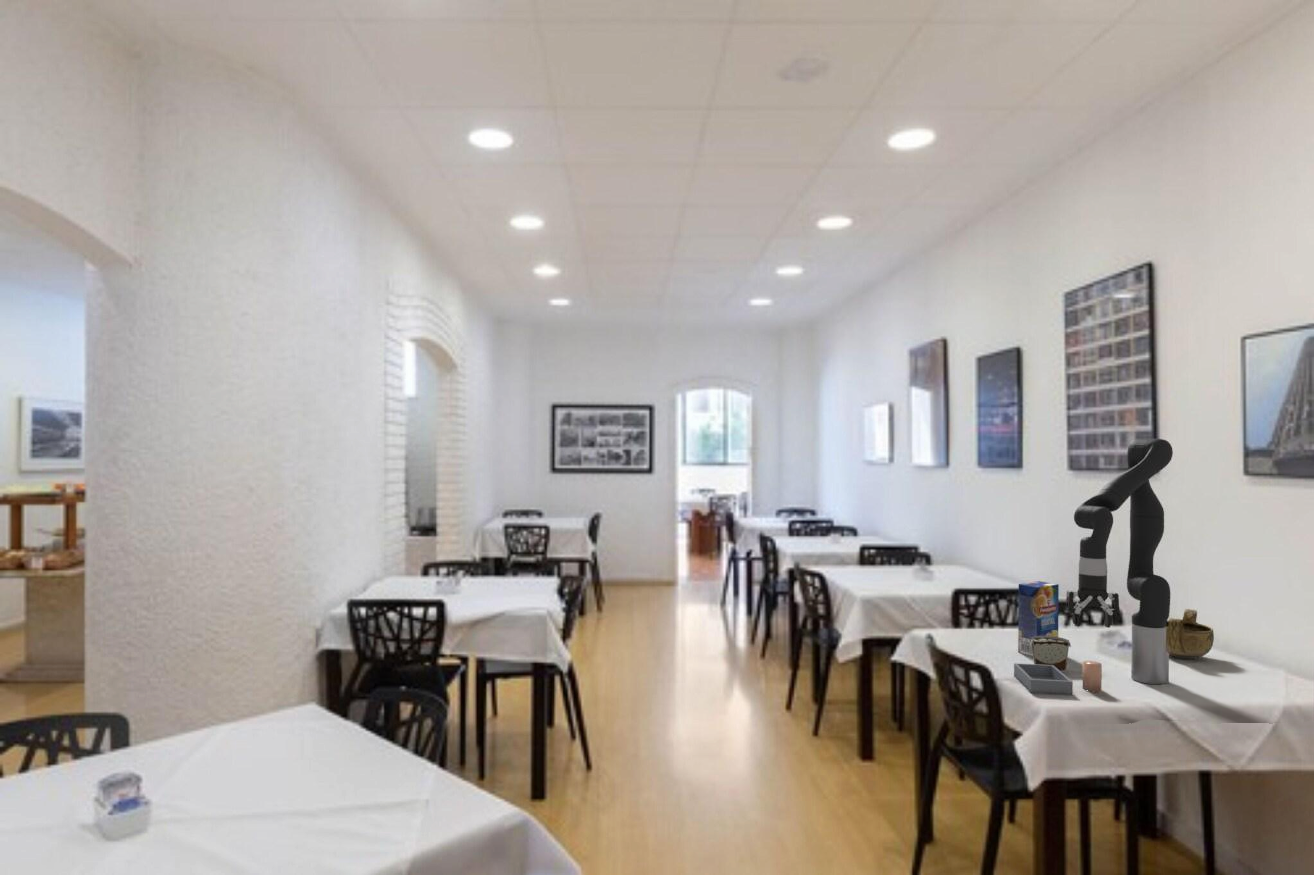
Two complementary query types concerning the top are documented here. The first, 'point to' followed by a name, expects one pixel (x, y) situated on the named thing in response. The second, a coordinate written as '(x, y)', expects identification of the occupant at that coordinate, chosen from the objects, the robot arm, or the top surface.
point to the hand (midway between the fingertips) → (1092, 626)
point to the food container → (1050, 651)
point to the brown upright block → (1092, 676)
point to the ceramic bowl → (1188, 637)
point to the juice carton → (1037, 613)
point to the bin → (1043, 679)
